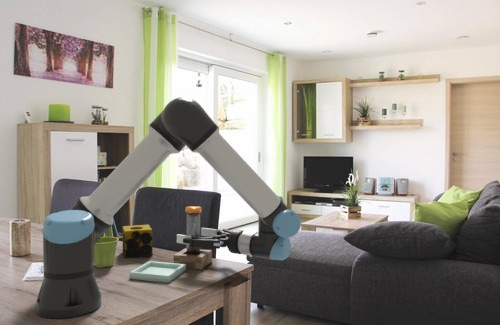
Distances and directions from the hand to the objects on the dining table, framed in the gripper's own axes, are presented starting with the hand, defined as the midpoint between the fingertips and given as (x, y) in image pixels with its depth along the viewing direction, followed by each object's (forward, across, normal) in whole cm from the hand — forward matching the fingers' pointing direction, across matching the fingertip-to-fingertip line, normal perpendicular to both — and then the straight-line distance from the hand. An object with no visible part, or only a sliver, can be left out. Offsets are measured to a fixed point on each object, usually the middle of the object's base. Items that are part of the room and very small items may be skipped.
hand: (189, 234), depth 149 cm
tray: (0, -15, -10) cm, 18 cm away
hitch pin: (-2, 0, -10) cm, 10 cm away
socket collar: (-2, 0, -10) cm, 10 cm away
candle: (+24, 0, -10) cm, 26 cm away
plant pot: (+23, -17, -10) cm, 30 cm away
